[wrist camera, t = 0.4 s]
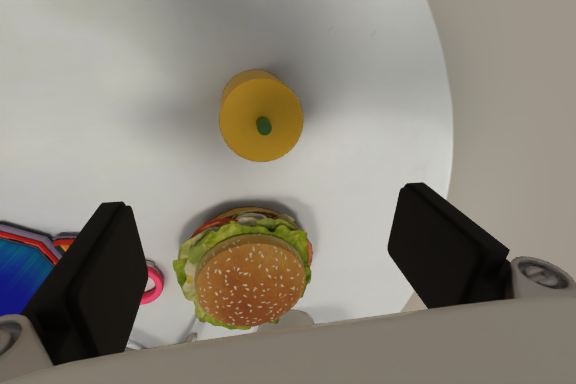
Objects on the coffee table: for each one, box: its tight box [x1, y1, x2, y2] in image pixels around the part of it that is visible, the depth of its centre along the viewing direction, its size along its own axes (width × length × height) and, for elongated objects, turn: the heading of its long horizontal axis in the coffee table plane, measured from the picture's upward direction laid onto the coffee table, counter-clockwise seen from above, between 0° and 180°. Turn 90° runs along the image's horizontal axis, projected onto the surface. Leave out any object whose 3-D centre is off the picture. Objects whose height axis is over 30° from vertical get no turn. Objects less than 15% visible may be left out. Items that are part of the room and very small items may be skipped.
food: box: [173, 207, 313, 330], centre depth 31 cm, size 14×14×8 cm
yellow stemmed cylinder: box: [219, 70, 303, 162], centre depth 24 cm, size 6×6×8 cm
